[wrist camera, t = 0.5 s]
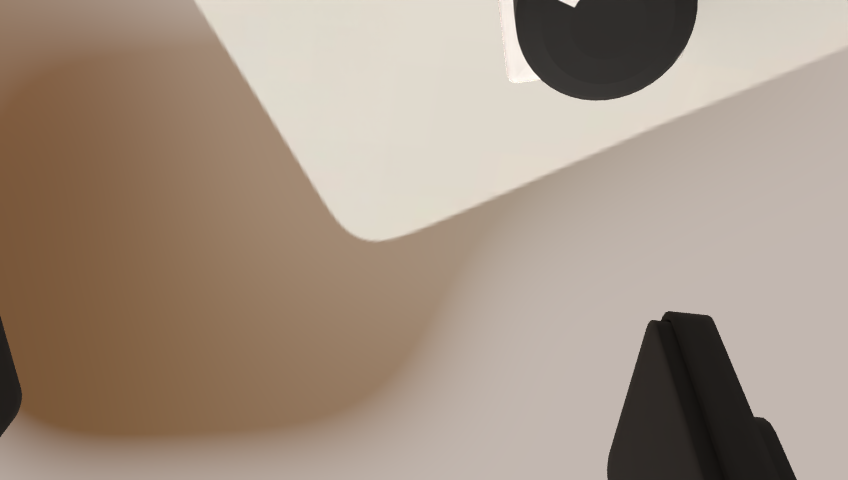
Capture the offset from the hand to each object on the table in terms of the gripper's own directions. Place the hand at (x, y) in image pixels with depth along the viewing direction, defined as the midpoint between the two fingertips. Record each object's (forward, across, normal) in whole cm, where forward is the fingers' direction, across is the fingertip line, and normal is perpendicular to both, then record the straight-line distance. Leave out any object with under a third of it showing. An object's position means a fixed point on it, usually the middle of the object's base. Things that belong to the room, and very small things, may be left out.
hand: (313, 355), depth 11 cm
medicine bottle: (+29, -6, -1) cm, 30 cm away
